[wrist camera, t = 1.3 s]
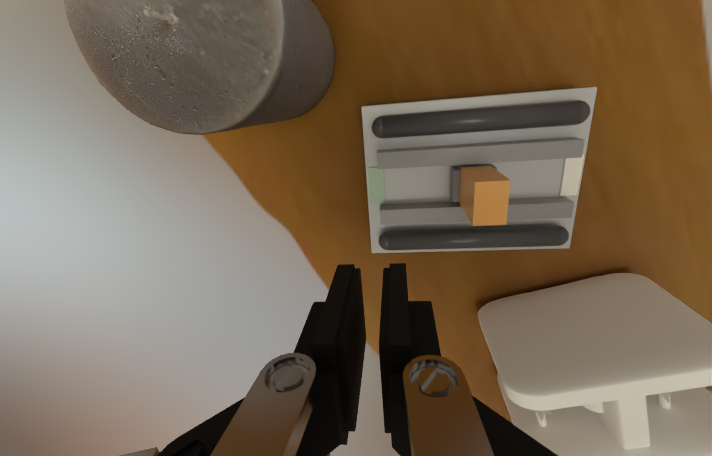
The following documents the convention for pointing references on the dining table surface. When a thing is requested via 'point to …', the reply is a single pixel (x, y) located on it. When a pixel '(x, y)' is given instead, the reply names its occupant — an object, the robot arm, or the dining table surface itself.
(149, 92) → the pillar candle
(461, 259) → the dining table surface
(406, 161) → the grey slotted tray
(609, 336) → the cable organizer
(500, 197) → the lever
